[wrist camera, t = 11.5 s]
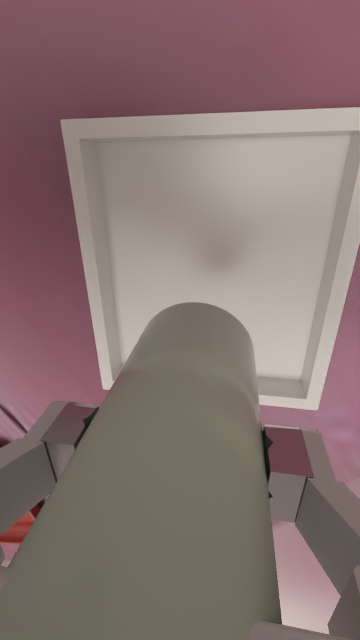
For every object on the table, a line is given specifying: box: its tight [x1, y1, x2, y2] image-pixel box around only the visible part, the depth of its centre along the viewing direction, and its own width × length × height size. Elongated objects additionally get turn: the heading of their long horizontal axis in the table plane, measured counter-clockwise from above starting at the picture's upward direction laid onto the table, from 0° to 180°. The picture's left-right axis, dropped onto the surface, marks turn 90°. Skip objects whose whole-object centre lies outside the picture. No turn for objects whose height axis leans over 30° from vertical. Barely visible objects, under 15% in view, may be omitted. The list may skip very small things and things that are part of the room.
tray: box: [60, 107, 360, 410], centre depth 22 cm, size 18×20×3 cm
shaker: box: [0, 302, 282, 640], centre depth 8 cm, size 5×5×12 cm
